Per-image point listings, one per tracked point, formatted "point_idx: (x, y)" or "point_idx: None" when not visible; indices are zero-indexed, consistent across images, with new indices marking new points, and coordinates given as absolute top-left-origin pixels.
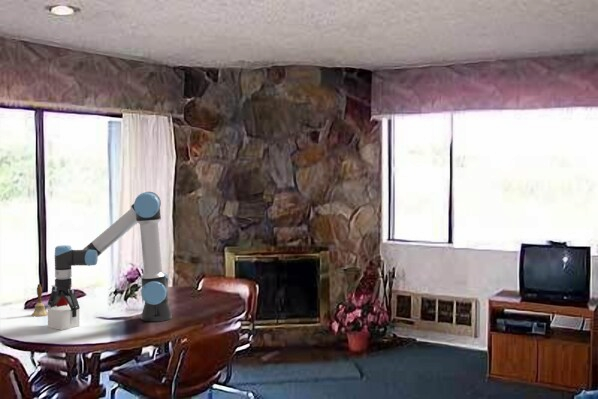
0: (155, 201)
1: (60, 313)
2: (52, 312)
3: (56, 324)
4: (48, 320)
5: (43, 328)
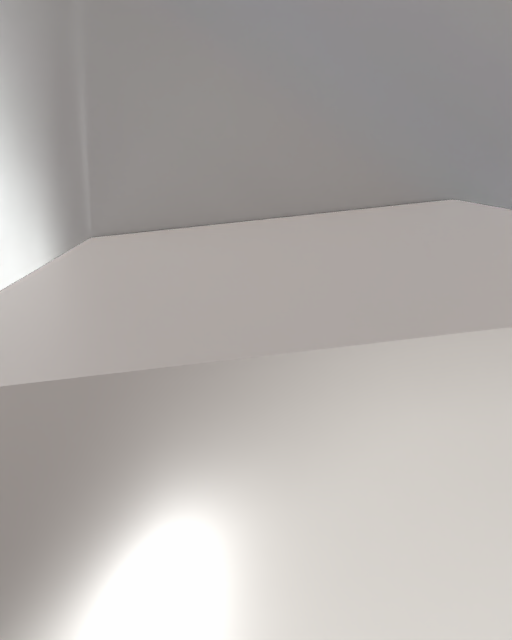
0: None
1: None
2: (475, 285)
3: (230, 235)
4: (505, 215)
5: (442, 91)
